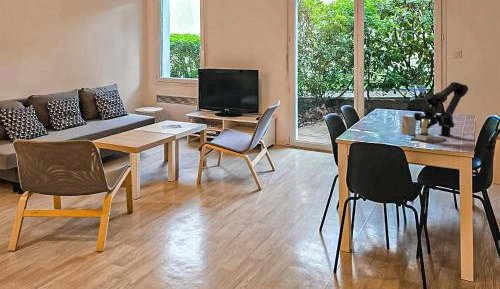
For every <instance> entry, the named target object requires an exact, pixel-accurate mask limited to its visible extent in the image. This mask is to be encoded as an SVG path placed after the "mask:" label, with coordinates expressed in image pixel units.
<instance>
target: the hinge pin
mask: <svg viewBox="0 0 500 289" xmlns="http://www.w3.org/2000/svg"><path fill="white" fill-rule="evenodd" d="M429 122H430V119H422V123H421V128H420V133H421V135H424V136H427V135H428V134H429V128H428V129H427V126H428V124H429Z"/></svg>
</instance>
